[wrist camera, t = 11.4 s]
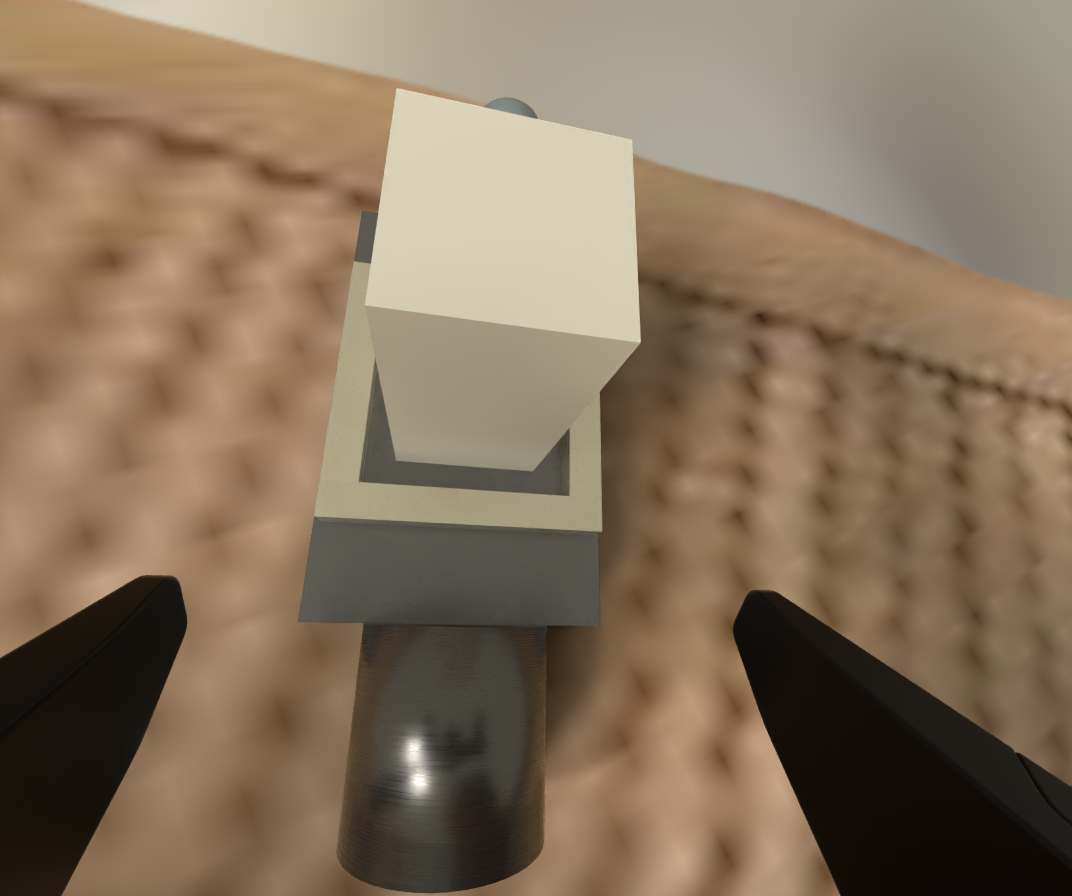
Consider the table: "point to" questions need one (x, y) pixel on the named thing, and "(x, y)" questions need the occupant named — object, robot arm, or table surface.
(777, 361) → the table surface
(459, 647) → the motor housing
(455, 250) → the cream block
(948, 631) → the table surface
